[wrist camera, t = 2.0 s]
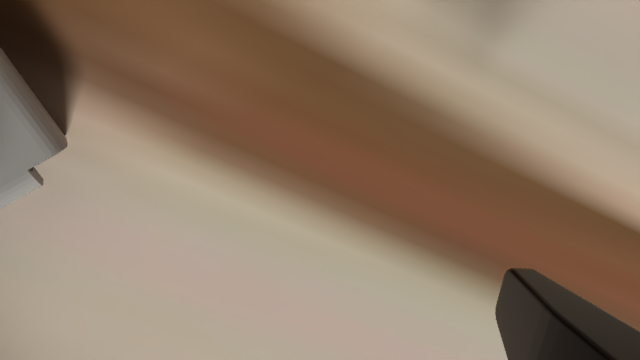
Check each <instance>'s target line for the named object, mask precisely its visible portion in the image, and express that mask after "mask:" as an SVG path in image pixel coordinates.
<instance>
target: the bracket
mask: <svg viewBox="0 0 640 360" xmlns="http://www.w3.org/2000/svg"><path fill="white" fill-rule="evenodd" d="M66 147H67V139H66V137H65V135H64V134H63V133H62V131H61V130H60V129H59V127H58V126H57V124H56V123H55V122H54V120H53V119H52V118H51V116H50V115H49V113H48V112H47V111H46V109H45V108H44V107H43V105H42V104H41V102H40V101H39V100H38V98H37V97H36V96H35V94H34V93H33V91H32V90H31V89H30V87H29V86H28V85H27V83H26V82H25V80H24V79H23V78H22V76H21V75H20V73H19V72H18V71H17V69H16V68H15V67H14V65H13V64H12V62H11V61H10V60H9V58H8V57H7V56H6V54H5V53H4V51H3V50H2V49H1V47H0V209H1V208H3V207H5V206H7V205H8V204H10V203H12V202H14V201H15V200H17V199H19V198H21V197H22V196H24V195H26V194H28V193H30V192H31V191H33V190H35V189H37V188H38V187H40V186H42V185H43V178H42V177H41V176H40V174H39V173H38V172H37V170H36V169H35V168H34V166H36V165H38V164H40V163H41V162H43V161H45V160H47V159H49V158H50V157H52V156H54V155H56V154H57V153H59V152H60V151H62V150H63V149H65V148H66Z"/></svg>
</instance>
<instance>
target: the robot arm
mask: <svg viewBox="0 0 640 360" xmlns="http://www.w3.org/2000/svg"><path fill="white" fill-rule="evenodd" d="M496 320H497V324H498V328H499V331H500V334H501V338H502V341H503V344H504V348H505V351H506V354H507V358H508V360H640V332H639V331H638V330H636V329H634V328H632V327H631V326H629V325H627V324H626V323H624V322H622V321H621V320H619V319H617V318H615V317H614V316H612V315H610V314H609V313H607V312H605V311H603V310H602V309H600V308H598V307H597V306H595V305H593V304H592V303H590V302H588V301H586V300H585V299H583V298H581V297H580V296H578V295H576V294H575V293H573V292H571V291H569V290H568V289H566V288H564V287H563V286H561V285H559V284H557V283H556V282H554V281H552V280H551V279H549V278H547V277H546V276H544V275H542V274H540V273H539V272H537V271H535V270H533V269H516V268H511V269H509V270H507V271H506V273H505V275H504V278H503V282H502V285H501V289H500V293H499V297H498V300H497V304H496Z"/></svg>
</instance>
